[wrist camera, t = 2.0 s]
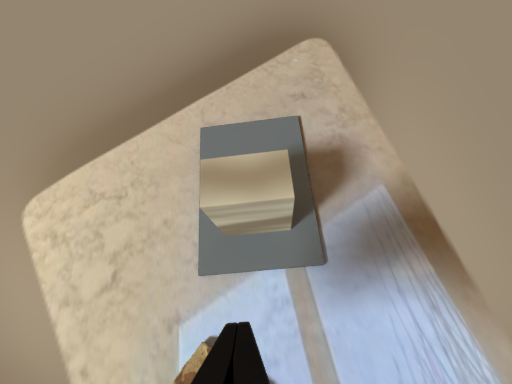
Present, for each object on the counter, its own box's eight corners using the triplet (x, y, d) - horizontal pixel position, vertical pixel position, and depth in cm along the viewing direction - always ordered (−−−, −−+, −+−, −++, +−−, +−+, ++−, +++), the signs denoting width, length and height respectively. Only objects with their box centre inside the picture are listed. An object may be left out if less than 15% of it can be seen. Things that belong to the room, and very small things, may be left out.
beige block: (290, 229, 23) (294, 197, 15) (225, 236, 23) (199, 207, 16) (286, 194, 24) (287, 149, 17) (224, 201, 25) (200, 159, 17)
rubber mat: (323, 264, 22) (324, 264, 21) (199, 276, 22) (198, 275, 22) (297, 118, 28) (297, 115, 28) (201, 130, 29) (200, 127, 28)
